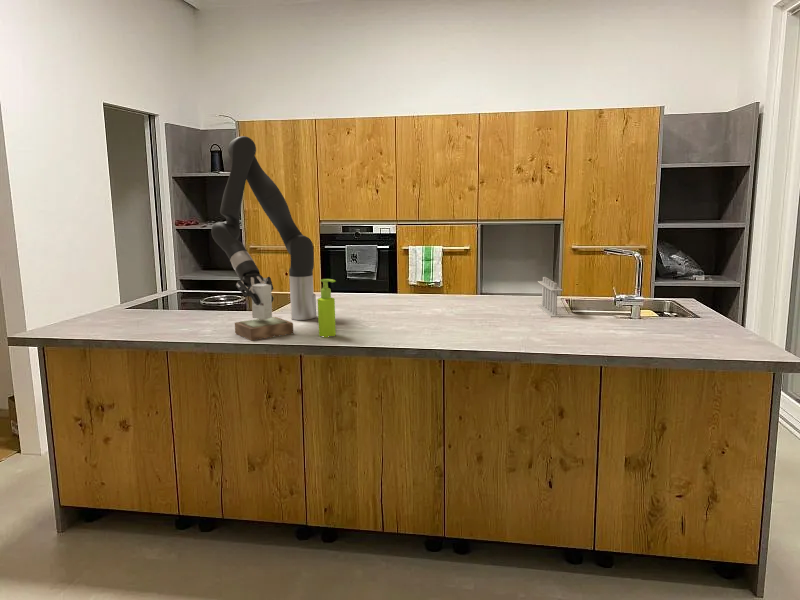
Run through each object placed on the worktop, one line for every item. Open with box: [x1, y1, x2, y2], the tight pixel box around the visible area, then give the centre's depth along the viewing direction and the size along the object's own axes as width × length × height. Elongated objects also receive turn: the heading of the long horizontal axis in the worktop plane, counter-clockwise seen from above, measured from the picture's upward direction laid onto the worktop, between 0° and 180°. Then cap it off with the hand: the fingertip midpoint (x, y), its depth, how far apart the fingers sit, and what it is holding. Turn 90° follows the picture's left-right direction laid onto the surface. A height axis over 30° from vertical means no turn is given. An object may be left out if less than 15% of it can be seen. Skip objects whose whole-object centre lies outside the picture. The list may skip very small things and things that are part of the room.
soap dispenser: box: [317, 278, 337, 338], centre depth 214 cm, size 6×7×20 cm
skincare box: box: [251, 283, 273, 319], centre depth 218 cm, size 6×4×12 cm
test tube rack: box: [536, 276, 564, 319], centre depth 252 cm, size 25×4×13 cm, turn 0°
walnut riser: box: [234, 316, 294, 341], centre depth 220 cm, size 16×14×4 cm
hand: (265, 302), depth 217 cm, fingers closed on skincare box, 4 cm apart
